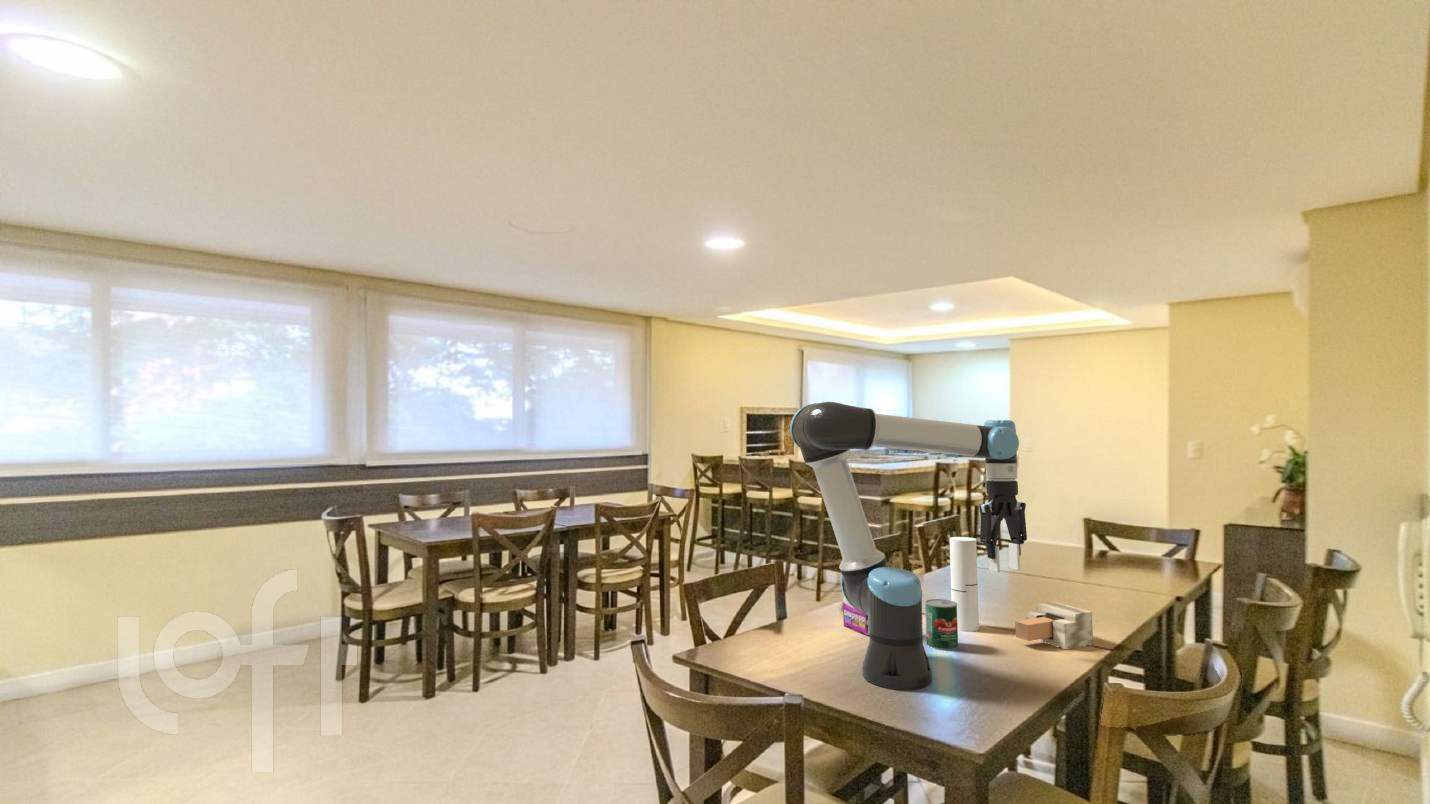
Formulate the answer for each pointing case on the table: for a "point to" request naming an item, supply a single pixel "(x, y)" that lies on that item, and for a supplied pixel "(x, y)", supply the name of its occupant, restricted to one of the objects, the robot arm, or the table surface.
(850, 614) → the candy bar box
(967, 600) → the cylindrical container
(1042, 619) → the peg
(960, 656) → the table surface
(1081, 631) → the sleeve
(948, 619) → the canned tomato
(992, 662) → the table surface
